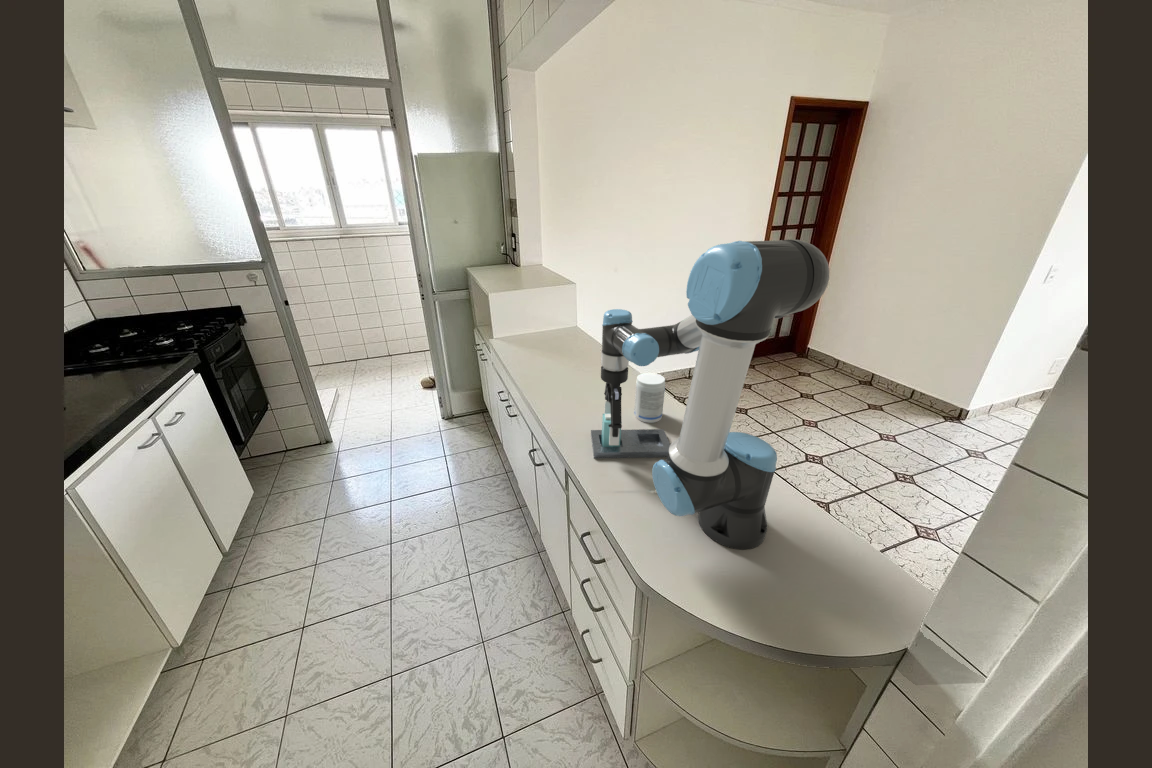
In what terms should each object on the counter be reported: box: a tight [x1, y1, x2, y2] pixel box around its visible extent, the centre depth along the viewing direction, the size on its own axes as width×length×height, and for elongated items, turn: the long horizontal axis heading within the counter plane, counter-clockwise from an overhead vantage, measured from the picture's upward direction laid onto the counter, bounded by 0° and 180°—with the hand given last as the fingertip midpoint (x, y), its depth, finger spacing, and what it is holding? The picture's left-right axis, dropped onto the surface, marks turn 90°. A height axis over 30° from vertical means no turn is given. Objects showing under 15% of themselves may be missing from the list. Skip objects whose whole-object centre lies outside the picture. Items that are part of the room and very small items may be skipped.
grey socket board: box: [590, 428, 671, 459], centre depth 124 cm, size 12×23×2 cm, turn 92°
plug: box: [601, 413, 623, 447], centre depth 122 cm, size 5×5×11 cm
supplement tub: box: [633, 372, 666, 424], centre depth 138 cm, size 10×10×15 cm
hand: (611, 431), depth 122 cm, fingers open, 13 cm apart
